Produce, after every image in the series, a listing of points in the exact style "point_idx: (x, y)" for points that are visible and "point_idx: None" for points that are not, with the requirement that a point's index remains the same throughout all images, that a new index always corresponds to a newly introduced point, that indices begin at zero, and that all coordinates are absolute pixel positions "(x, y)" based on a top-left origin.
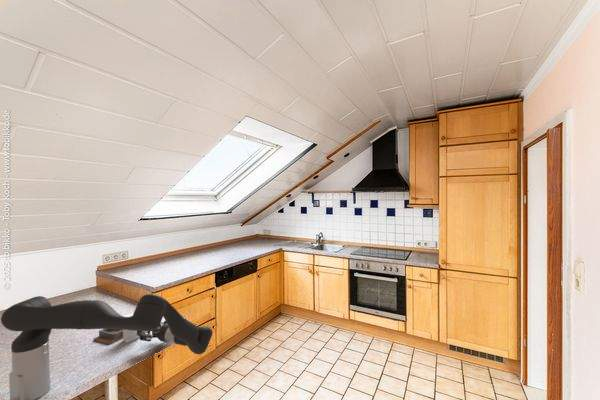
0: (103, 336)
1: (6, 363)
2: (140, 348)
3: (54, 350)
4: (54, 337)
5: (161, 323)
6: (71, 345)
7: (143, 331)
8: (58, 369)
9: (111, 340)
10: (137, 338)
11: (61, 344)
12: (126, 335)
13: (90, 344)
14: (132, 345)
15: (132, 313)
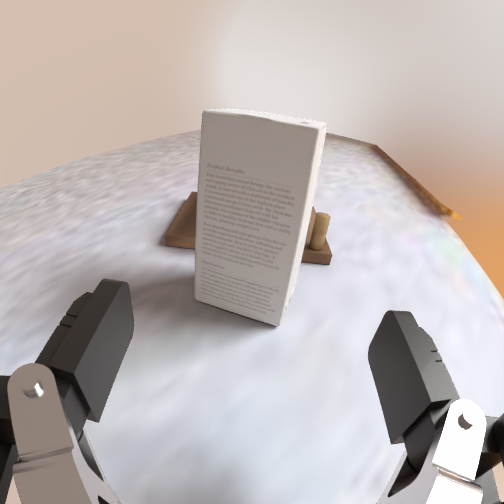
0: None
1: (82, 159)
2: (133, 443)
3: (127, 173)
4: (193, 155)
5: (450, 494)
6: (155, 181)
7: (27, 377)
8: (8, 223)
9: (186, 233)
10: (262, 321)
11: (160, 169)
12: (197, 254)
13: (163, 204)
14: (171, 352)
15: (292, 117)
